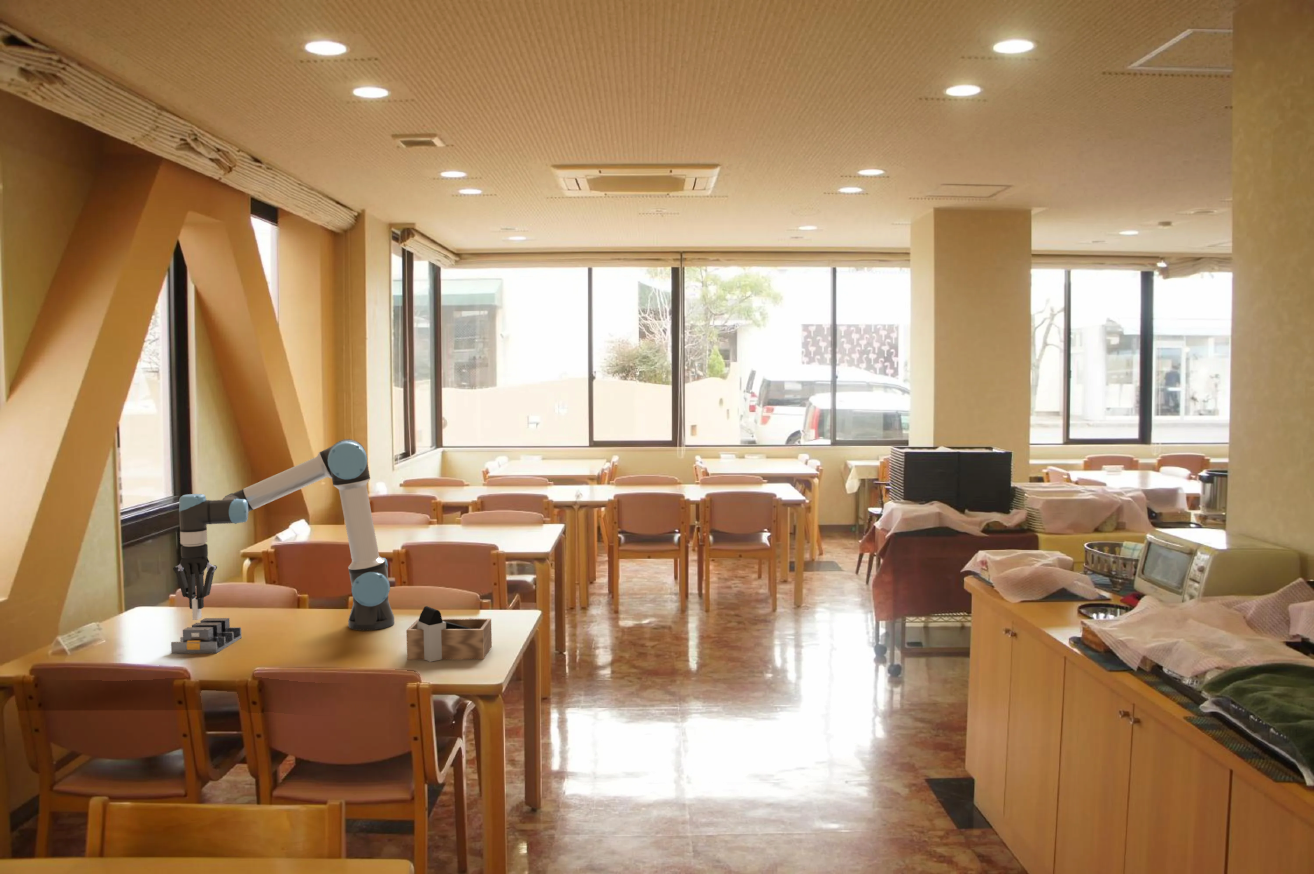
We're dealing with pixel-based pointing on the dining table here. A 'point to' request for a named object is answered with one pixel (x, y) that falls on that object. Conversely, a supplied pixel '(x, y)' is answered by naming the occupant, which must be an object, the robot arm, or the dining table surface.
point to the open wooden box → (454, 640)
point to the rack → (221, 638)
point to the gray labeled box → (198, 634)
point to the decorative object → (434, 632)
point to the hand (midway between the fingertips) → (197, 618)
